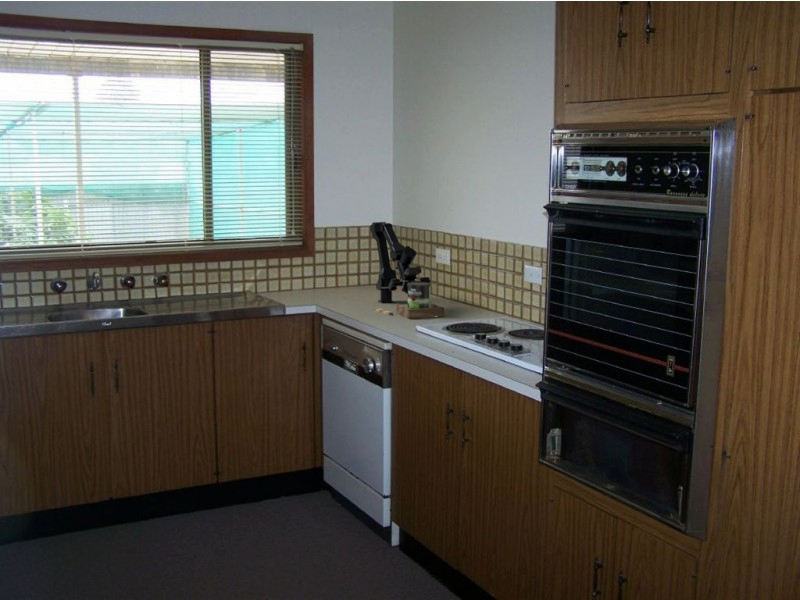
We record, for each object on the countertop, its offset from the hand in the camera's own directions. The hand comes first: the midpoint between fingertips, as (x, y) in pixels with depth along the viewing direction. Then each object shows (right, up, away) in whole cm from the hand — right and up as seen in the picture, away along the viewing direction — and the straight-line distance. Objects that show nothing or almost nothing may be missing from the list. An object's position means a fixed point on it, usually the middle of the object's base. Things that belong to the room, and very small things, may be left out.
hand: (414, 298), depth 410 cm
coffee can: (+2, -7, -4) cm, 9 cm away
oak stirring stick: (-14, -7, +2) cm, 16 cm away
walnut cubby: (+2, -7, -4) cm, 9 cm away
